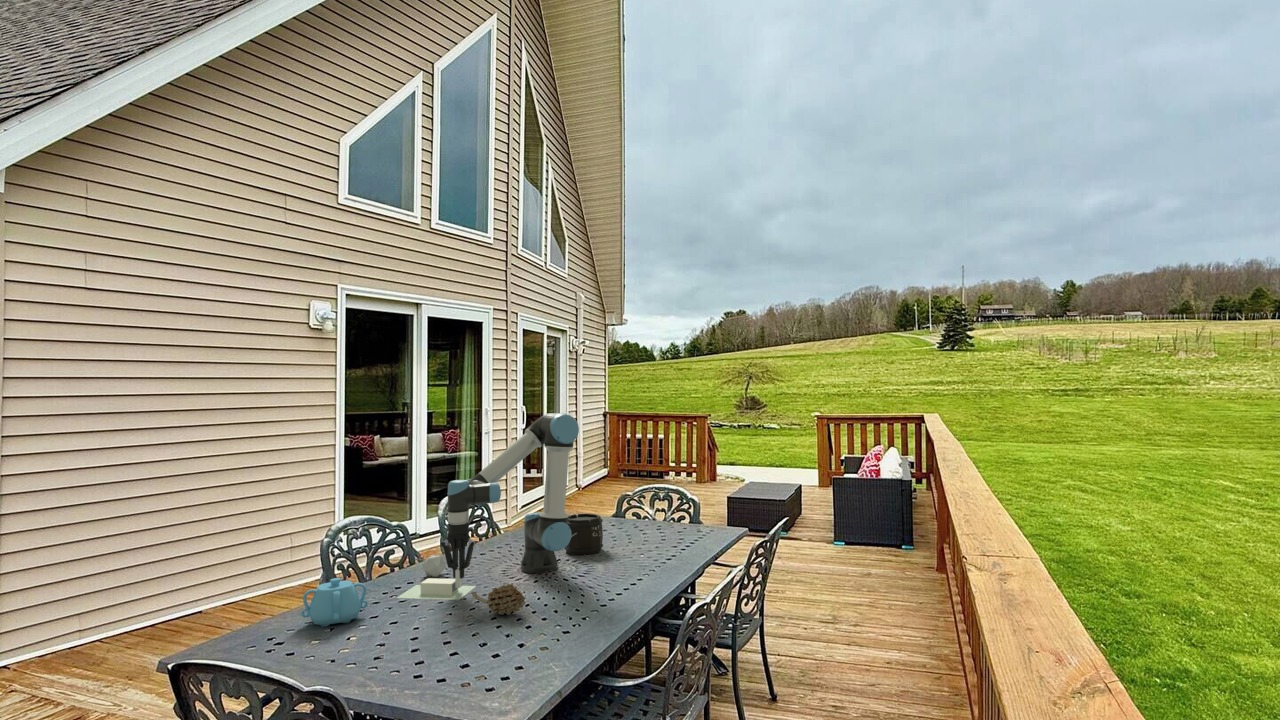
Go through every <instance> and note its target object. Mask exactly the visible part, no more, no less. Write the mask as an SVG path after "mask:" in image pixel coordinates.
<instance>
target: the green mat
mask: <svg viewBox="0 0 1280 720" xmlns="http://www.w3.org/2000/svg"><path fill="white" fill-rule="evenodd" d="M476 587H477V585H462V586H461V587H460V588H458V590H457V591H456V592H455V593H453V594H452V595H437V594H421V584H416V585H414V586H412V587H411V588H409V589H407V591H405V592H403V593H402V594H400V595H398V596H396V598H395V599H397V600H398V599H416V600H417V599H418V600H419V599H420V600H455V601H457V600H461V599H463V598H464V597H465V596H466V595H467V594H468V593H470V592H471V591H473V590H474V589H475V588H476Z"/></svg>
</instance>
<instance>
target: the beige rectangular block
mask: <svg viewBox="0 0 1280 720" xmlns="http://www.w3.org/2000/svg"><path fill="white" fill-rule="evenodd" d="M419 585H421V594H437V595H452V594H453V593H455V592H456V591H457V590H458V588H455V578H437V577H435V578H434V577H431V578H426V579H424V580H423V581H422V582H420V584H419Z"/></svg>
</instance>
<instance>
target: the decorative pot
mask: <svg viewBox="0 0 1280 720" xmlns="http://www.w3.org/2000/svg"><path fill="white" fill-rule="evenodd" d="M356 587H362V588H363V589H362V595H361V597H360V594H359V592H358V590H357V588H356ZM312 593H314V594H313V596H312V598H311V601H310V605H309V604H308V600H307V599H308V598H307V596H308V595H310V594H312ZM366 594H367V586H366V584H365V583H364V582H363V583H362V582H355V583H353V582H352V581H351V580H341V578H340V577H334V578H331V579H330V580H329V582H325V583H321V584H319V585H318V586H317V588H312V589H308V590H307V591H306V592H304V594H303V596H302V602H303V604H304V606H305V608H304V609H303V610H302V611H301V612H300V613H301V614H300V615H301V616H302V617H303V618H310V620H311V621H312V623H313V624H314V625H318V626H319V625H320V627H322V628H325V627H329V626H330V625H334V624H335V625H336V624H339V623H342V624H349V623H351V622H352V620H354V619H356V618H357V617H358V616H359V614H360V611H362V609H366V608H367V607H368V605H369V602H368V600H366V599H365V597H366ZM363 603H364V604H363ZM305 612H307V613H305Z"/></svg>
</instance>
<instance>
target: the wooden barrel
mask: <svg viewBox="0 0 1280 720" xmlns="http://www.w3.org/2000/svg"><path fill="white" fill-rule="evenodd" d="M603 522H604V520H603V519H602V518H601V515H599V514H596V513H577V514H576V513H575V514H574V513H573V514H572V515H568V526H569V527H570V529H571V534H572V535H571V540H570V542H569V544H568V545H567V546H566V547H565V548H564V549H563V550H565V552H566V554H568V555H570V556H576V557H577V556H578V557H581V556H582V557H583V556H592V555H596V554H599V553H600V552H601V550H602V549H603V547H604V544H603V538H604V535H603Z"/></svg>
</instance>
